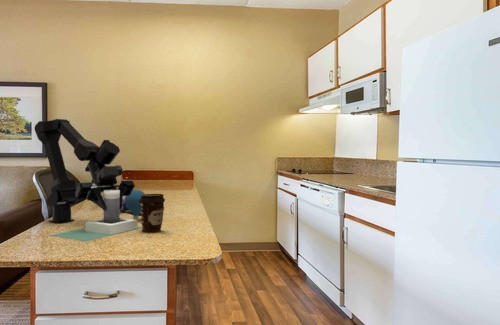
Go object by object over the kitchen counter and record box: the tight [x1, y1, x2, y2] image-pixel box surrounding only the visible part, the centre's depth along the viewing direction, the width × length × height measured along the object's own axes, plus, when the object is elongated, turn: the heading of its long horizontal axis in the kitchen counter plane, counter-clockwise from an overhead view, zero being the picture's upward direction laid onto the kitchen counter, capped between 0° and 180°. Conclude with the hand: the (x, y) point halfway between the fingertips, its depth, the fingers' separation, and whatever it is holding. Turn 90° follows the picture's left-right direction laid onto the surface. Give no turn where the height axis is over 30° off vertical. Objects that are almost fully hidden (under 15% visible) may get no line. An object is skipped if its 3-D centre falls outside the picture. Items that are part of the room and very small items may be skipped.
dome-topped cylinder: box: [103, 190, 121, 224], centre depth 132 cm, size 5×5×12 cm
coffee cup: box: [139, 193, 166, 234], centre depth 132 cm, size 9×8×13 cm
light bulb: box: [124, 189, 146, 221], centre depth 155 cm, size 8×8×12 cm
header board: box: [49, 217, 142, 243], centre depth 130 cm, size 16×24×4 cm, turn 153°
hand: (113, 209), depth 131 cm, fingers closed on dome-topped cylinder, 5 cm apart
